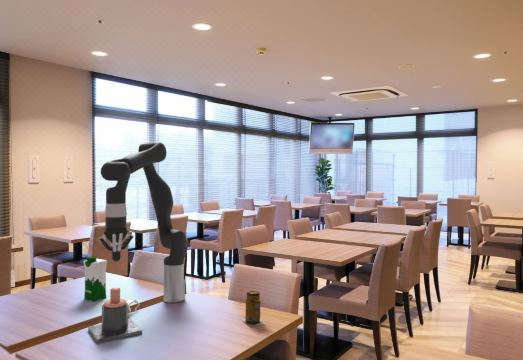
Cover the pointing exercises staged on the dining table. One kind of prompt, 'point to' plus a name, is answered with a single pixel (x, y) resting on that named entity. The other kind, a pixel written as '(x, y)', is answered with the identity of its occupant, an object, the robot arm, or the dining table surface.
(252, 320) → the condiment
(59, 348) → the dining table surface
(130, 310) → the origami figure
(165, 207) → the robot arm
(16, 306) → the dining table surface
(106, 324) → the flanged pipe socket
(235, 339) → the dining table surface
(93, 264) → the milk carton
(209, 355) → the dining table surface
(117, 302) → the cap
